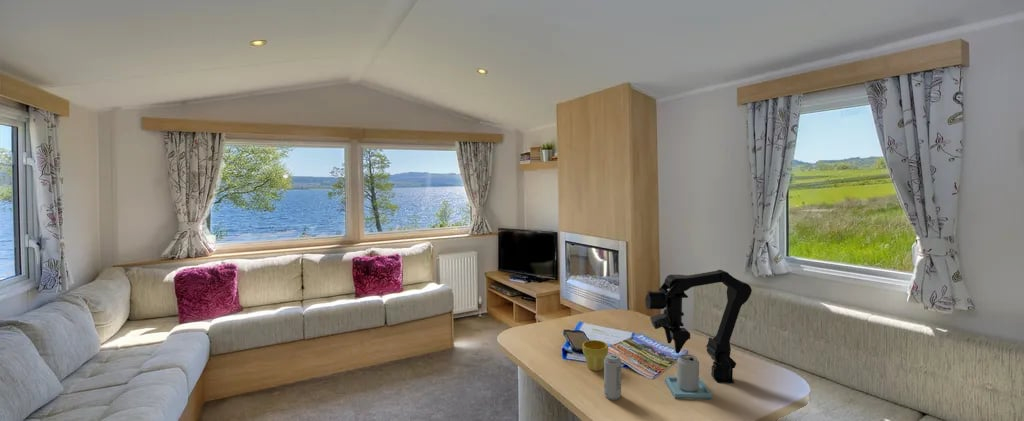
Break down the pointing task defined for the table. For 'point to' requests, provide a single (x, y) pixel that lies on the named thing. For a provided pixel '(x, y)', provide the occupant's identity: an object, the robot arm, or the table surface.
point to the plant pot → (595, 354)
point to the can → (688, 373)
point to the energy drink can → (612, 376)
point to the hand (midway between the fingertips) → (673, 348)
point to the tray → (680, 394)
